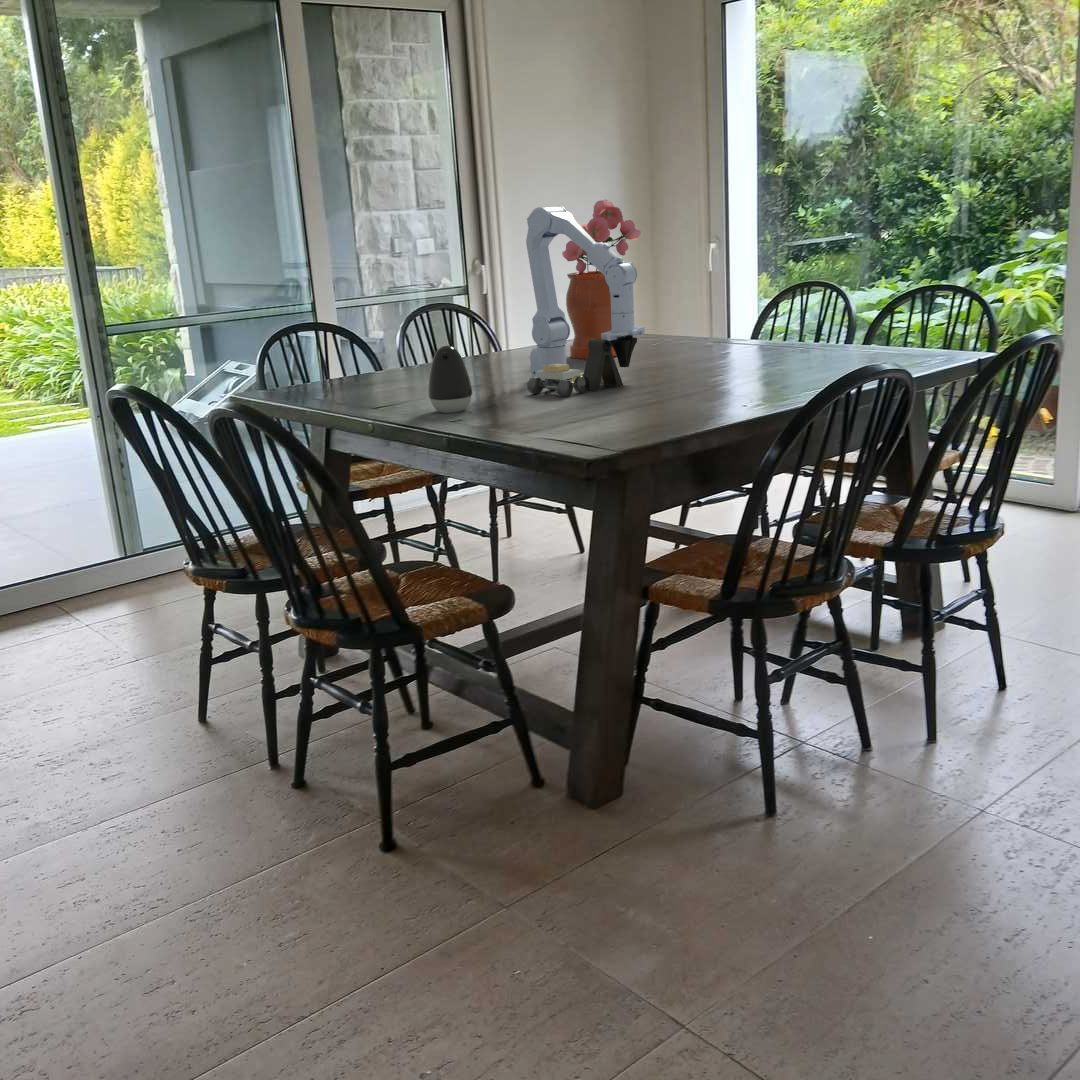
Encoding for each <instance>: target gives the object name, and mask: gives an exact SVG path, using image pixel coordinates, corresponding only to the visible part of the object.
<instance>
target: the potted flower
mask: <svg viewBox="0 0 1080 1080" xmlns="http://www.w3.org/2000/svg"><path fill="white" fill-rule="evenodd" d="M623 217H624V216H623V213H622V210H621V208H620V207H618V206H615V205H614V204H613V201H611V200H608V199H603V200H602V199H601V200H597V201H596V202H595V204H594V205H593V214H592V218H591V219H589V221H588V223H586V224H584V223H583V224H581V225H580V224H579V225H580V226H581V227H582V228H583V229H584V230H585V231H586V232H587V233H588V234H589V235H590V236H591V237H592V238H593V240H594V241H595V242H596V243H599V242H603V243H604V244H606V243H610V242H611V245H610V248H611V247H615V248H616V249H615V250H616V251H617V253H618V254H619V256H623V257H624V256H626V251H628V250H629V245H628V243H627V240H629V241H630V240H631V241H633V240H638V239H639V237H640V235H641V230H640V229H637V228H636V227H635V226H636V225H635V222H634V221H633V220H631V219H629V220H624V218H623ZM619 224H620V227H619V232H620V234H621V235H620V236H618V237H617V238H615V239H613V238H612V237H611V236H610V235H611V231H612V230H616V229H617V227H618V225H619ZM614 241H615V242H614ZM613 242H614V243H613ZM615 244H616V245H615ZM561 255H562V257H563V258H564V259H565V260H566V261H567V262H574V261H576V262H577V263H576V266H575V269H576V272H569V273H567V275H566V276H567V278H568V279H569V284H568V287H567V291H566V296H565V299H566V300H565V305H566V311H567V316H568V319H569V320H570V321H569V322H570V324H571V327H572V330H573V335H574V337H573V340H572V344H571V345H570V346H569V352H570V353H569V354H570V358H572V359H579V360H581V359H582V360H587V357H588V353H589V348H588V343H589V341H590V340H591V339H601V333H606V332H608V331H611V330H612V323H611V295H610V289H609V286H608V284H607V283H606V280H605V276H604V275H603V274H602V273H601V272H600V271H599V270H598V269H597V268H596V267H595V266H594V265H593V264H592V263H590V262H589V261H588V259H587V252H585V251H584V250H583V249H582V248H581V247H579V246H578V245H577V244H576V243H575V242H573V241H572V240H569V241H567V243H566V244H565V250H563V251H562V254H561ZM583 260H584V261H585V262H584V261H583ZM589 266H593V267H595V268H596V269H595V270H589ZM586 269H587V271H586ZM611 350H612V355H613V357H617V355H616V353H615V351H614V349H613V347H612V348H611Z"/></svg>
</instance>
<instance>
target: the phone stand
mask: <svg viewBox="0 0 1080 1080" xmlns="http://www.w3.org/2000/svg"><path fill="white" fill-rule="evenodd" d="M588 348H589V353H588V357H587V359H586V362H585V367H584V371H583V373H584V374H583V376H584V377H587V378H588V379H589V384H590V385H589V389H588V391H590V392H599V390H601V391H606V390H605V389H607V390H611V388H613V389H618V388H617V387H619V388H622V387H621V386H623V387H624V383H623V380H622V376H621V377H620V374H619V372H620V371H619V369H618V366H617V363H616V360H615V358H614V357H613V355H612V350H611V348H612V344H611V342H610V341H609V340H602V339H591V340H590V341H589V343H588ZM601 377H602V378H603V382H604V383H601ZM600 383H601V384H600Z"/></svg>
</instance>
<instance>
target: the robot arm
mask: <svg viewBox="0 0 1080 1080" xmlns="http://www.w3.org/2000/svg"><path fill="white" fill-rule="evenodd" d="M526 221H527V222H526V223H527V234H526V240H525V243H526V251H527V256H528V261H529V262H528V263H529V267H530V268H529V269H530V274H531V279H532V286H533V293H534V298H535V303H536V304H535V305H536V312H535V314H534V316H533V317H532V319H531V320H532V330H531V336H532V340H533V342H534V343H535V344H536V345H535V346H534V347H533V348H532V349H531V351H530V355H529V356H530V357H529V358H530V360H529V361H530V374H531V375H530V376H531V377H529V380H530V379H531V378H533V377H534V378H536V371H540V370H543V366H544V365H549V364H554V363H555V364H568V363H567V349H566V347H567V346H566V344H567V340H568V339H569V337H570V334H571V328H570V324H569V322H568V321H567V319H566V315H565V312H564V311H563V310H562V309H561V308H560V307H559V305H558V299H557V297H558V296H557V293H556V286H555V280H554V274H553V268H552V261H551V254H550V249H549V246H550V244H551V243H552V241H553V240H554V238H556V237H557V236H558V235H559V234H561V235H565V236H566V237H567V238H568V239H570V241H573V242H575V243H576V244H577V245H578V246H579V247H581V248H582V249H583V250H584V251H585V252H587V256H586V257H587V259H588V262H590V263H592V264H593V265H594V266H593V265H592V266H593V267H595V268H597V271H600V272H601V273H602V274H603V275H604V276H605V280H606V283H607V284H608V286H609V289H610V295H611V323H612V330H611V331H608V332H606V333H601V339H602V340H609V341H610V342H611V344H612V347H613V349H614V351H615V353H616V355H617V356H616V358H617V363H618V365H619V368H629V367H630V364H631V359H632V355H633V354H632V353H633V352H634V349H635V346H636V345H637V342H638V337H636V336H643V335H645V334H646V332H645V330H646V329H645V326H635V308H634V307H635V305H634V303H635V302H634V284H635V282H636V281H637V279H638V271H637V268H636V267H635V265H634V264H633V263H632V262H630V261H624V258H623V257H622V256H618V254H616V253H615V252H614V251H613V250H612V249H611V247H610V246H611V245H610V244H609V242H607V243H606V242H605V243H603V242H597V243H596V242H595V241H594V240H593V238H592V237H591V236H590V235H589V234H588V233H587V232H586V231H585V230H584V229H583V228H582V227H581V226H580V224H579V223H578V222H577V220H576V219H575V218H574V216H573V214H572V213H571V212H569V211H567V208H565V207H564V206H563V205H556V206H548V207H546V206H544V207H542V206H541V207H540V206H539V207H535V208H533V210H532V211H531V212H530V214H528V216H527V218H526ZM587 259H586V260H587ZM590 263H589V264H590ZM540 379H541V380H542V381H543V382H545V378H540Z"/></svg>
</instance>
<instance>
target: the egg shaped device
mask: <svg viewBox="0 0 1080 1080" xmlns="http://www.w3.org/2000/svg"><path fill="white" fill-rule="evenodd" d="M472 386H473V385H472V384H471V380H470V375H469V373H468V369H467V366H466V364H465V362H464V359H463V357H462V355H461V354H460V352H459V350H458V349H456V348H455V347H454V346H451V345H443V346H440V347H439V348H438V349H437V350H436V351H435V354H434V355H433V359H432V361H431V365H430V370H429V378H428V389H427V390H428V391H427V392H428V394H427V395H428V398H429V399H430V403H431V405H432V407H434V409H435V410H436V411H438V412H440V413H442V414H454V413H455V414H456V413H460V412H463V411H465V410H466V409H467V408H468V407H469V406H470V403H471V400H472V396H473V388H472Z"/></svg>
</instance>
